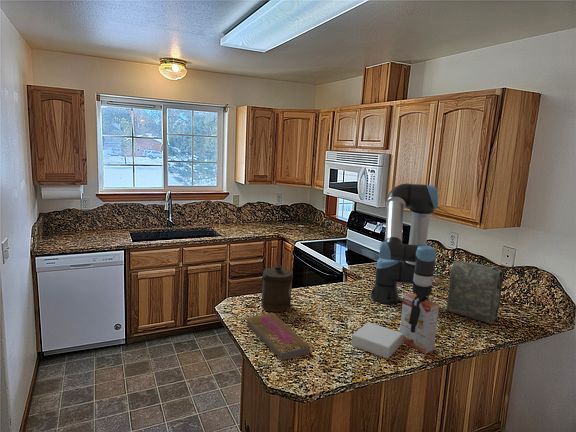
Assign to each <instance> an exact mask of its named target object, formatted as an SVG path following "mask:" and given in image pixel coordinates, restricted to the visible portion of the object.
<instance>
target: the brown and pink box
mask: <svg viewBox="0 0 576 432" xmlns="http://www.w3.org/2000/svg"><path fill="white" fill-rule="evenodd" d="M245 320H246V325H247V326H248V327H249V328H250V330H252V332H254V333H255V335H256V336H257V337H258V338H260V340H261V341H262V342H263V343H264V344H266V346H268V348H269V349H270V350H271V351H272V352H273V353H274V354H275V355H276V356H277V357H278V358H279V359H280V360H281V361H285V360H290V359H293V358H296V357H301V356H304V355H308V354H311V348H314V346H313V345H312V344H310V342H308V341H307V340H306V339H304V338H303V336H301V335H299V333H297V332H296V331H295V330H294V329H293V328H292V327H291V326H289V325H288V324H287V323H286V322H285V321H283V320H282V319H281V318H280V317H279V316H277V314H275V313H274V312H272V311H271V312H270V313H269V312H268V313H264V314H263V313H261V314H259V315H253V316H246V317H245ZM290 349H291V350H290Z"/></svg>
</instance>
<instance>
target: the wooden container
mask: <svg viewBox="0 0 576 432" xmlns="http://www.w3.org/2000/svg"><path fill="white" fill-rule="evenodd" d="M292 279H293V271H291V270H290V269H287V268H284V267H282V265H281V264H277V263H276V264H275V265H274V267H268V268H265V269H264V270H263V273H262V286H261V287H262V289H261V308H262V309H264V310H266V311H267V312H271V313H272V312H273V313H274V312H275V313H280V312H281V313H282V312H285V311H288V310H289V309H290V308H291V304H292V283H293V282H292Z"/></svg>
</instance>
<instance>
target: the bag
mask: <svg viewBox="0 0 576 432" xmlns="http://www.w3.org/2000/svg"><path fill="white" fill-rule="evenodd" d="M503 276H504V272H503V270H502V269H499V268H497V266H488V265H484V264H480V263H478V262H468V261H465V260H464V261H459V260H457V259H456V260H454V261H453V264H452V267H451V272H450V278H449V285H448V286H449V287H448V298H447V303H446V304H447V305H446V310H445V311H446V312H450V313H453V314H457V315H459V316H463V317H467V318H469V319H473V320H477V321H480V322H484V323H487V324H488V325H492V324H493V323H494V321H495V320H496V319H497V318H498V315H499V308H500V304H501V297H502V290H503V289H502V287H503Z"/></svg>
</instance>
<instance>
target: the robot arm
mask: <svg viewBox="0 0 576 432" xmlns="http://www.w3.org/2000/svg"><path fill="white" fill-rule="evenodd" d="M438 206H439V193H438V189H437V187H436V186H435V185H431V184H422V183H421V184H418V183H417V184H416V183H415V184H414V183H401V184H398V185H396V186H394V187H393V188H392V189H391V190H390V191H389V193H387V196H386V199H385V208H386V220H385V221H386V223H385V233H384V235H385V236H384V241H381V242H380V244H379V253H378V256H379V258H378V259H377V261H376V266H375V268H376V271H375V281H374V285H373V287H372V289H371V292H370V299H371V300H372V301H374V302H376V303H379V304H383V305H393V304H394V305H395V304H397V303H399V302H400V301H399V300H400V296H399V291H398V287H397V286H398V284H399V283H400V284H406V285H407V284H409V285H412V290H411V291H412V293H414V294H416V297H415V299H414V300H413V302H412V309H411V315H410V320H409V322H408V323H409V324H411V325H410V334H409V338H410V339H413V340H416V337H417V328H418V325H417V322H418V319H419V315H420V308H419V305H420V303H421V302H422V301H423V302H424V301H425V300H429V299H430V298H429V297H430V295H431V294H432V293H433V291H432V290H433V286H432V285H433V281H435V278H434V273H435V266H436V259H437V250H436V248H435V247H433V246H430V245H428V244H427V240H428V232H429V224H430V218H431V217H430V216H431V215H432V214H434V212H435V210H437V209H439V208H438ZM405 208H409V211H410V214H411V219H410V220H411V221H410V229H409V238H408V239H409V240H408V244H406V243H403V229H404V228H403V225H404V210H405Z"/></svg>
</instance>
